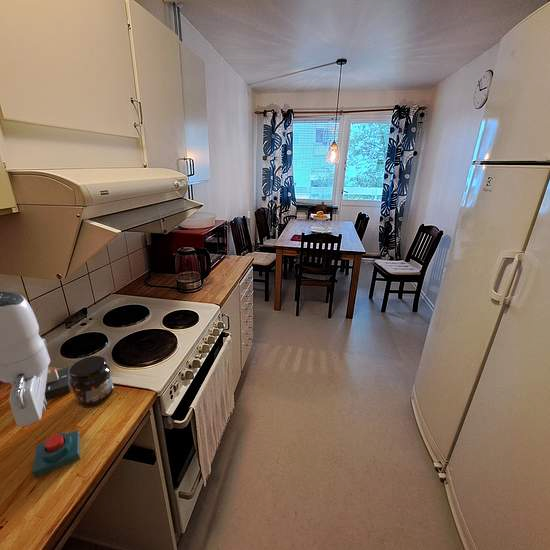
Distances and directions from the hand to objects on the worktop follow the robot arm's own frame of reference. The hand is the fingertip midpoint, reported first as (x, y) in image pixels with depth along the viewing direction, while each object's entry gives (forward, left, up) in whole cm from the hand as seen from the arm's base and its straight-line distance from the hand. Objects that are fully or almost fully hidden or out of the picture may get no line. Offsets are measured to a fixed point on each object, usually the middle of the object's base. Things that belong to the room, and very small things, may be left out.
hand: (42, 409), depth 67 cm
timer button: (0, 0, -12) cm, 12 cm away
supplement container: (+9, +18, -16) cm, 26 cm away
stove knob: (-3, +29, -13) cm, 32 cm away
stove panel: (-3, +29, -16) cm, 33 cm away
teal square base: (0, 0, -16) cm, 16 cm away
